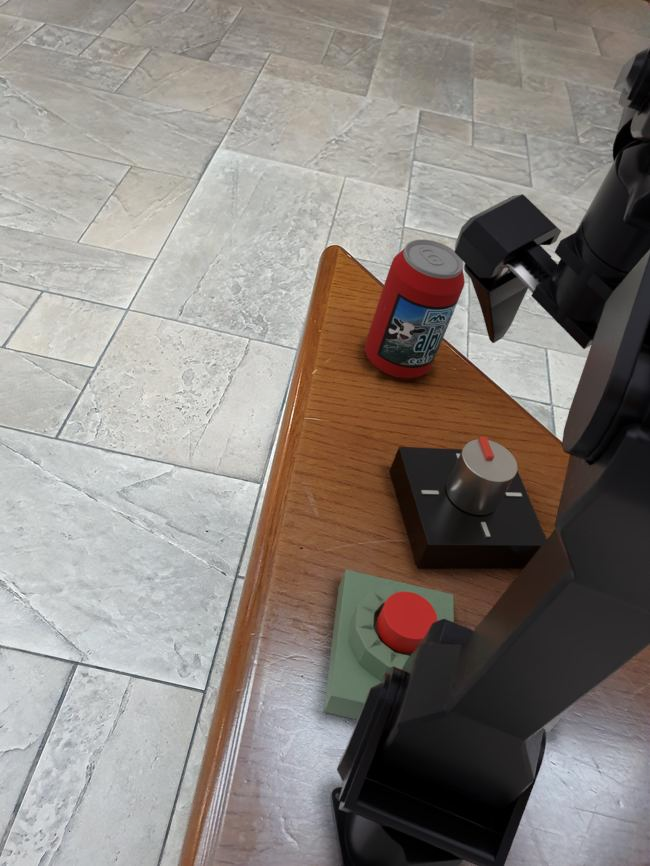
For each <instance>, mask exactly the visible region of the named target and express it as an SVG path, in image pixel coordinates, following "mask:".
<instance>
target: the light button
mask: <svg viewBox="0 0 650 866" xmlns="http://www.w3.org/2000/svg"><path fill="white" fill-rule="evenodd" d="M436 621H437V615H436V612H435V610H434V608H433V607H432V605H431V604H430V603H429V602H428V601H427V600H426V599H425V598H423V597H422V596H420V595H418V594H415V593H412V592H398V593H395V594H393V595H391V596H390V597H389V598H388V599H387V600H386V602H385V604H384V606H383V608H382V610H381V612H380V614H379V616H378V619H377V631H378V634H379V636H380V638H381V639H382V640H383V642H384V643H385V644H386V645H387V646H389V647H390V648H391V649H393V650H395V651H398V652H401V653H408V654H409V653H413V652H414V651H415V650H416V647H417V644H418V642H421V641H422V639H423V638H424V637H425V635H426V633H427V632H428V630H429V628H430V626H431V625H432V623H434V622H436Z"/></svg>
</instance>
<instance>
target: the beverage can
mask: <svg viewBox="0 0 650 866" xmlns="http://www.w3.org/2000/svg"><path fill="white" fill-rule="evenodd" d="M465 281H466V280H465V274H464V262H463V261H462V260H461V258H460V257H459V256H458V255H457V254H456V253H455V249H453V248H452V247H450V246H448V245H446V244H444V243H442V242H439V241H435V240H431V239H425V238H424V239H414V240H411V241H409V242H408V243H407V244H406V245H405V247H404V248H403V249H402V250H401V251H399V252H398V253H397V254H396V255H395V256H394V257H393V259H392V261H391V264H390V266H389V270H388V272H387V275H386V279H385V281H384V284H383V288H382V290H381V294H380V296H379V300H378V302H377V305H376V309H375V311H374V315H373V318H372V320H371V324H370V327H369V330H368V334H367V337H366V341H365V343H364V353H365V355H366V357H367V358H368V360H369V361H370V363H371V364H372V365H373V366H375V367H376V368H377V369H378V370H380V371H381V372H383V373H385V374H387V375H389V376H392V377H395V378H403V379H414V378H415V379H416V378H419V377H421V376H424V375H425V374H427V373H428V372H429V371H430V370H431V367H433V366H432V365H433V363H434V360H435V358H436V356H437V354H438V351H439V350H440V347H441V344H442V341H443V340H444V337H445V335H446V332H447V331H448V330H447V329H448V327H449V325H450V322H451V320H452V317H453V315H454V312H455V310H456V307H457V304H458V302H459V299H460V297H461V295H462V293H463V289H464V287H465Z"/></svg>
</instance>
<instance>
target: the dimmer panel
mask: <svg viewBox="0 0 650 866" xmlns="http://www.w3.org/2000/svg"><path fill="white" fill-rule="evenodd" d="M462 449H463V448H462ZM462 449H461V448H442V447H441V448H440V447H415V446H414V447H413V446H399V447H398V448H397V450H396V453H395V455H394V458H393V460H392V463H391V466H390V468H389V470H388V472H389V476H390V479H391V481H392V483H391V484H392V486H393V490H394V493H395V497H396V499H397V503H398V507H399V510H400V514H401V518H402V522H403V524H404V528H405V531H406V534H407V539H408V542H409V547H410V549H411V552H412V556H413V560H414V563H415V566H416V569H524V567H525V566H526V565H527V564H528V562H529V561H530V560H531V559H532V557H533V556H534V555H535V554H536V552H537V551H538V550H539V549H540V547H541V546H542V545H543V543H544V542H545V541H546V540H547V537H546V535H545V532H544V529H543V527H542V525H541V522H540V519H539V517H538V515H537V513H536V511H535V510H536V509H535V508H534V505H533V503H532V501H531V499H530V497H529V494H528V492H527V489H526V487H525V485H524V483H523V480H522V477H521V475H520V473H519V470H518V469H517V473H516V475H515V477H514V479H513V480H512V482H511V484H510V486H509V488H508V489H507V491H506V493H505V495H504V497H503V498H502V500H501V502H500V504H499V506H498V507H497V509H496V510H495V511H494V512H492V513H490V514H487V515H474V514H470V513H467V512H465V511H463V510H461V509H460V508H458V507H457V506H456V505H455V504H454V503H453V502H452V501H451V500H450V498H449V497H448V494H447V491H446V483H447V481H448V479H449V476H450V474H451V472H452V470H453V468H454V466H455V464H456V462H457V460H458V458H459V456H460V454H461V451H462Z"/></svg>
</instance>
